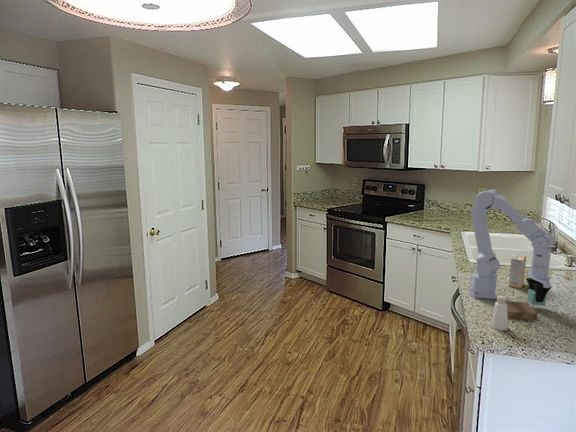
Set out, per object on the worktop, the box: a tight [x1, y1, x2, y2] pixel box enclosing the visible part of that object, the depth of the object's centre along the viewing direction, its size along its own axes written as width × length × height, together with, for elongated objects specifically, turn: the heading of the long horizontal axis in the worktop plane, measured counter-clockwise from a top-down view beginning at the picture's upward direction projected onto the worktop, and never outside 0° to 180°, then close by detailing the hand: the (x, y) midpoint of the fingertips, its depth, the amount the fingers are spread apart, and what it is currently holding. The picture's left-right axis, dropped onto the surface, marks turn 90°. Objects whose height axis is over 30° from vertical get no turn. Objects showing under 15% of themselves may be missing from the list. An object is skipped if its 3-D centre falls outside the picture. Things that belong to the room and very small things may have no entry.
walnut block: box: [505, 300, 538, 321], centre depth 150 cm, size 10×10×2 cm
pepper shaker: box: [490, 295, 509, 331], centre depth 138 cm, size 5×5×11 cm
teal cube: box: [527, 289, 547, 306], centre depth 153 cm, size 4×4×4 cm
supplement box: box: [508, 254, 527, 289], centre depth 178 cm, size 8×5×13 cm, turn 140°
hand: (536, 299), depth 154 cm, fingers closed on teal cube, 4 cm apart
